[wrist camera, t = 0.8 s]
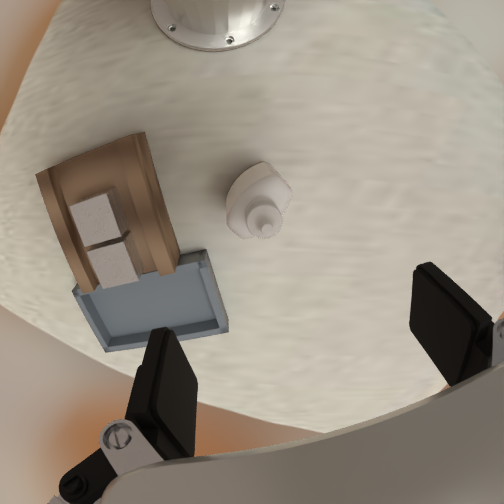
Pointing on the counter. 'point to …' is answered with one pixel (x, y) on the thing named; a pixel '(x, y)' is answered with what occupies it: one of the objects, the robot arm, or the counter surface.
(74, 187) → the slot block
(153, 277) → the tray
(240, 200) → the eye dropper bottle
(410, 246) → the counter surface
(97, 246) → the chip
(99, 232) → the chip
